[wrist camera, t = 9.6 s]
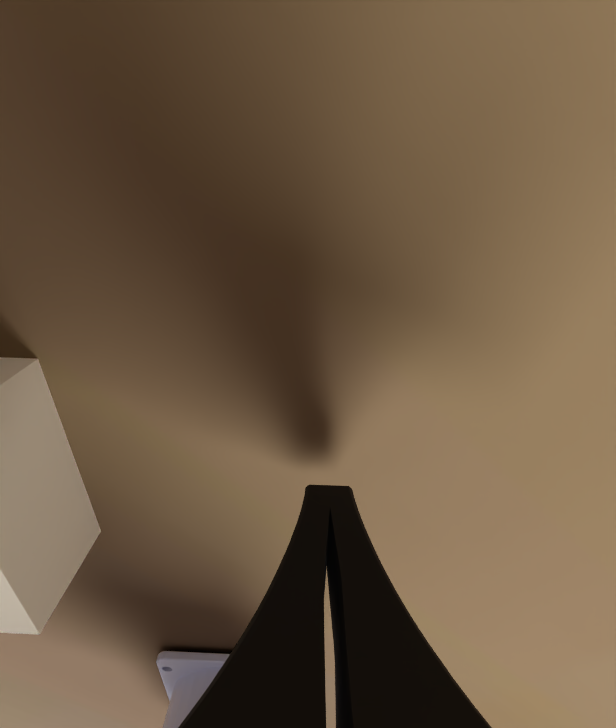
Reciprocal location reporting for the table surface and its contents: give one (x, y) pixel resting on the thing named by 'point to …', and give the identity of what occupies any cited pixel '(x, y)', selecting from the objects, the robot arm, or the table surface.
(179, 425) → the table surface
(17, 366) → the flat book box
